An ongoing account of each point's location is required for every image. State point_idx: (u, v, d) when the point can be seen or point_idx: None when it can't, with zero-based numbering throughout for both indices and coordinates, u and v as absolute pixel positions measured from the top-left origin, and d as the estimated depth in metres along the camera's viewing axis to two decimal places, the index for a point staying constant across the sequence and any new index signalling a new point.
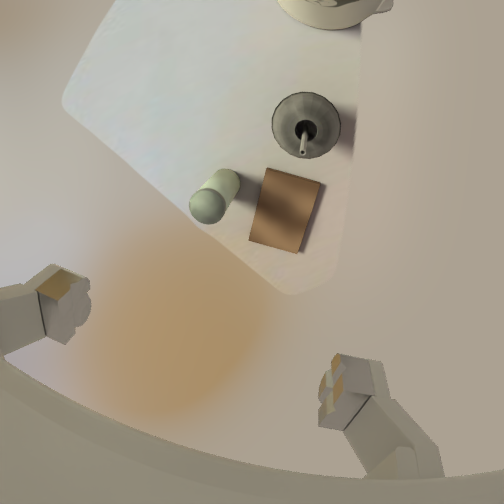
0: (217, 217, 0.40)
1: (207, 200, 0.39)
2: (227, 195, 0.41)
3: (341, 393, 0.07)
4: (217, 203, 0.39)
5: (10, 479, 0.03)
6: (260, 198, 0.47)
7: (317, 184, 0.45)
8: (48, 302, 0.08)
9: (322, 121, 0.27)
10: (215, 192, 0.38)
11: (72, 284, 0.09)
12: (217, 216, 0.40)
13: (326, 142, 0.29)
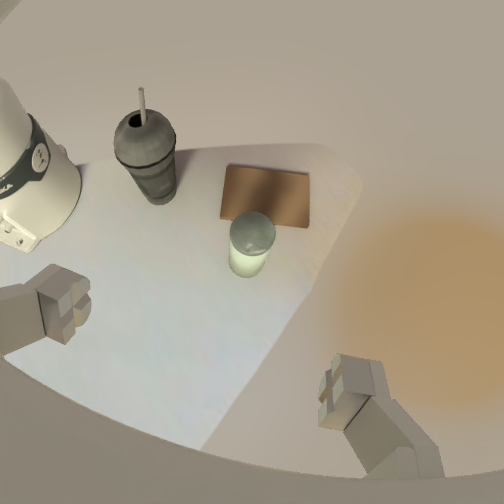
0: (263, 218, 0.33)
1: (243, 231, 0.32)
2: None
3: (341, 393, 0.07)
4: (244, 219, 0.33)
5: (10, 479, 0.03)
6: None
7: (227, 168, 0.45)
8: (48, 302, 0.08)
9: (130, 113, 0.30)
10: (232, 223, 0.33)
11: (72, 284, 0.09)
12: (261, 218, 0.33)
13: (151, 110, 0.31)
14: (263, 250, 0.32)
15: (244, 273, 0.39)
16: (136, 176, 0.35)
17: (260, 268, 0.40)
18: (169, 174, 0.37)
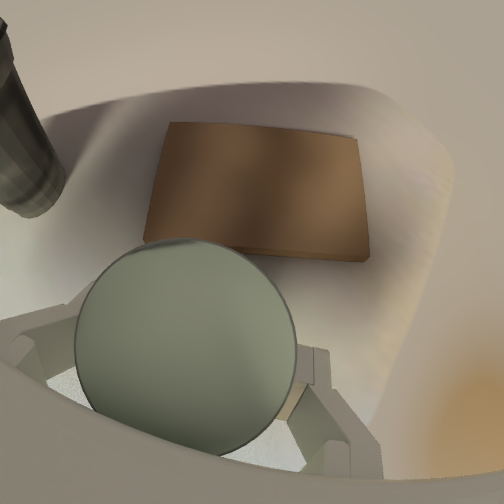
0: (233, 274, 0.06)
1: (131, 345, 0.06)
2: None
3: None
4: (141, 282, 0.06)
5: (10, 479, 0.03)
6: (231, 241, 0.16)
7: (170, 126, 0.19)
8: None
9: None
10: (87, 301, 0.06)
11: None
12: (226, 275, 0.06)
13: None
14: (234, 444, 0.05)
15: None
16: None
17: None
18: (6, 142, 0.11)
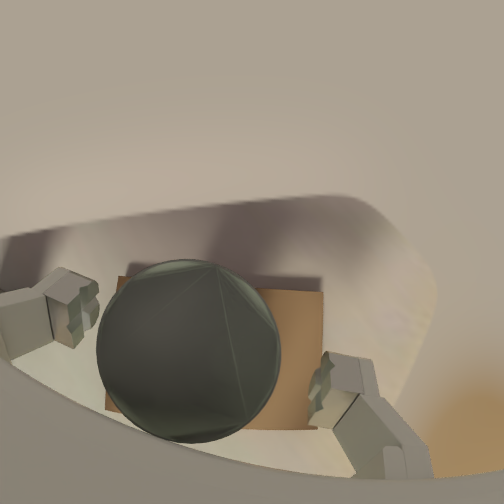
0: (228, 290, 0.08)
1: (145, 348, 0.07)
2: None
3: (329, 391, 0.07)
4: (152, 296, 0.08)
5: (10, 479, 0.03)
6: None
7: (119, 282, 0.18)
8: (57, 306, 0.08)
9: None
10: (106, 311, 0.08)
11: (81, 288, 0.08)
12: (222, 290, 0.08)
13: None
14: (229, 430, 0.07)
15: None
16: None
17: None
18: None
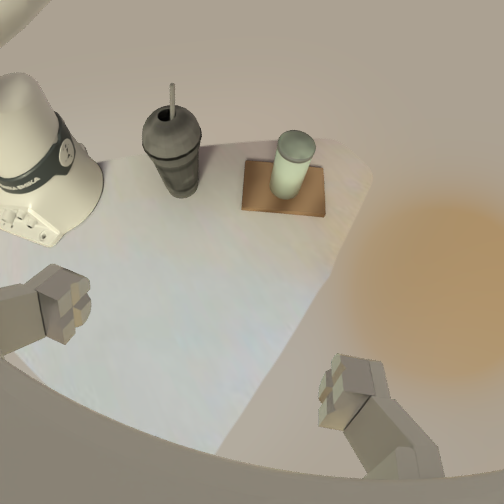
0: (304, 135, 0.37)
1: (289, 143, 0.37)
2: None
3: (341, 393, 0.07)
4: (289, 135, 0.37)
5: (10, 479, 0.03)
6: (274, 208, 0.45)
7: (246, 162, 0.47)
8: (48, 302, 0.08)
9: (158, 109, 0.33)
10: (279, 138, 0.37)
11: (72, 284, 0.09)
12: (303, 135, 0.37)
13: (177, 106, 0.34)
14: (307, 157, 0.36)
15: (285, 192, 0.44)
16: (163, 169, 0.37)
17: (299, 188, 0.44)
18: (194, 167, 0.40)
